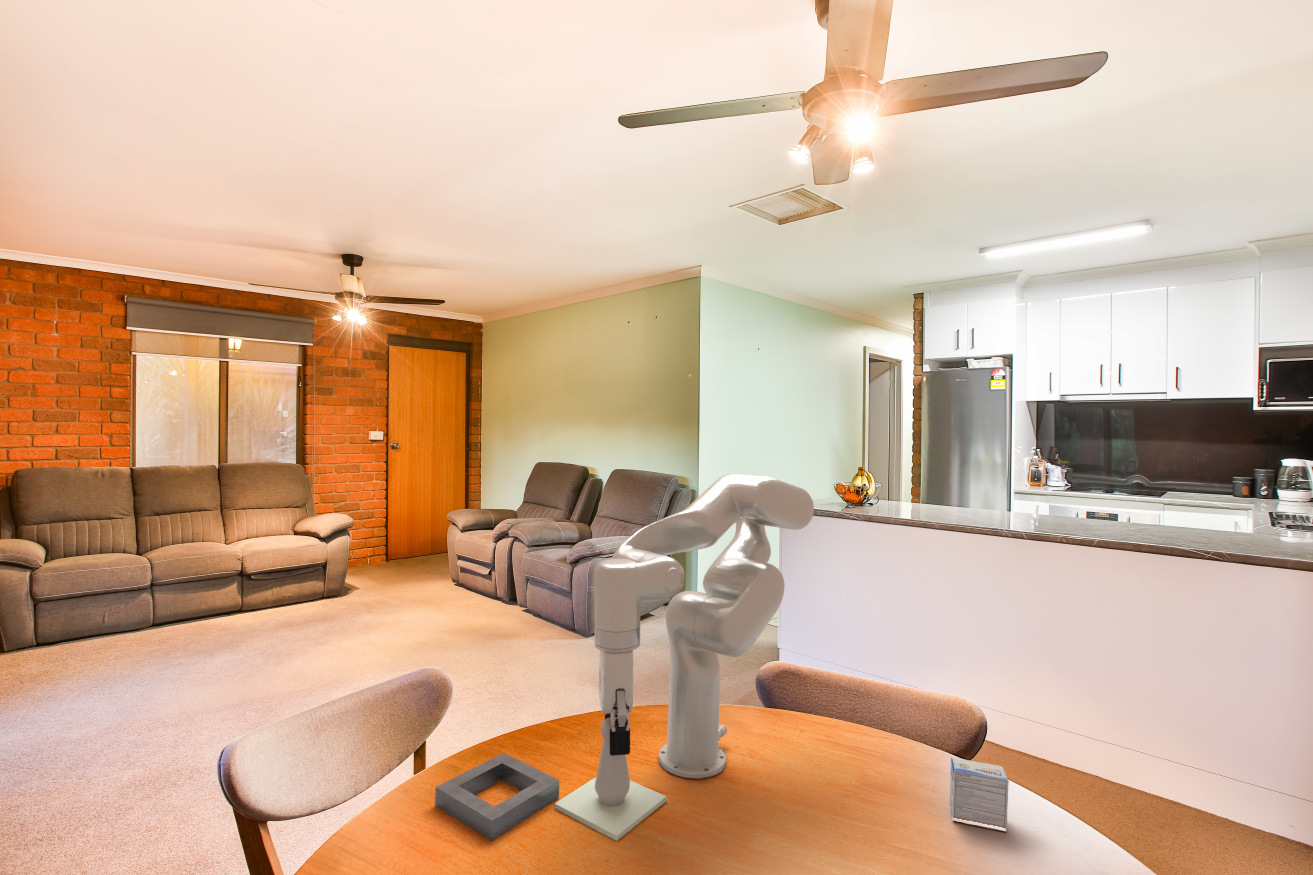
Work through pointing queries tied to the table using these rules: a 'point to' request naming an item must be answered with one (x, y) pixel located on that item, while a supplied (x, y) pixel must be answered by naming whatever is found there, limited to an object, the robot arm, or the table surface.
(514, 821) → the grey square frame
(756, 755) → the table surface
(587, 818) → the mat
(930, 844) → the table surface
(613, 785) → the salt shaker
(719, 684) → the robot arm
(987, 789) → the medicine box
